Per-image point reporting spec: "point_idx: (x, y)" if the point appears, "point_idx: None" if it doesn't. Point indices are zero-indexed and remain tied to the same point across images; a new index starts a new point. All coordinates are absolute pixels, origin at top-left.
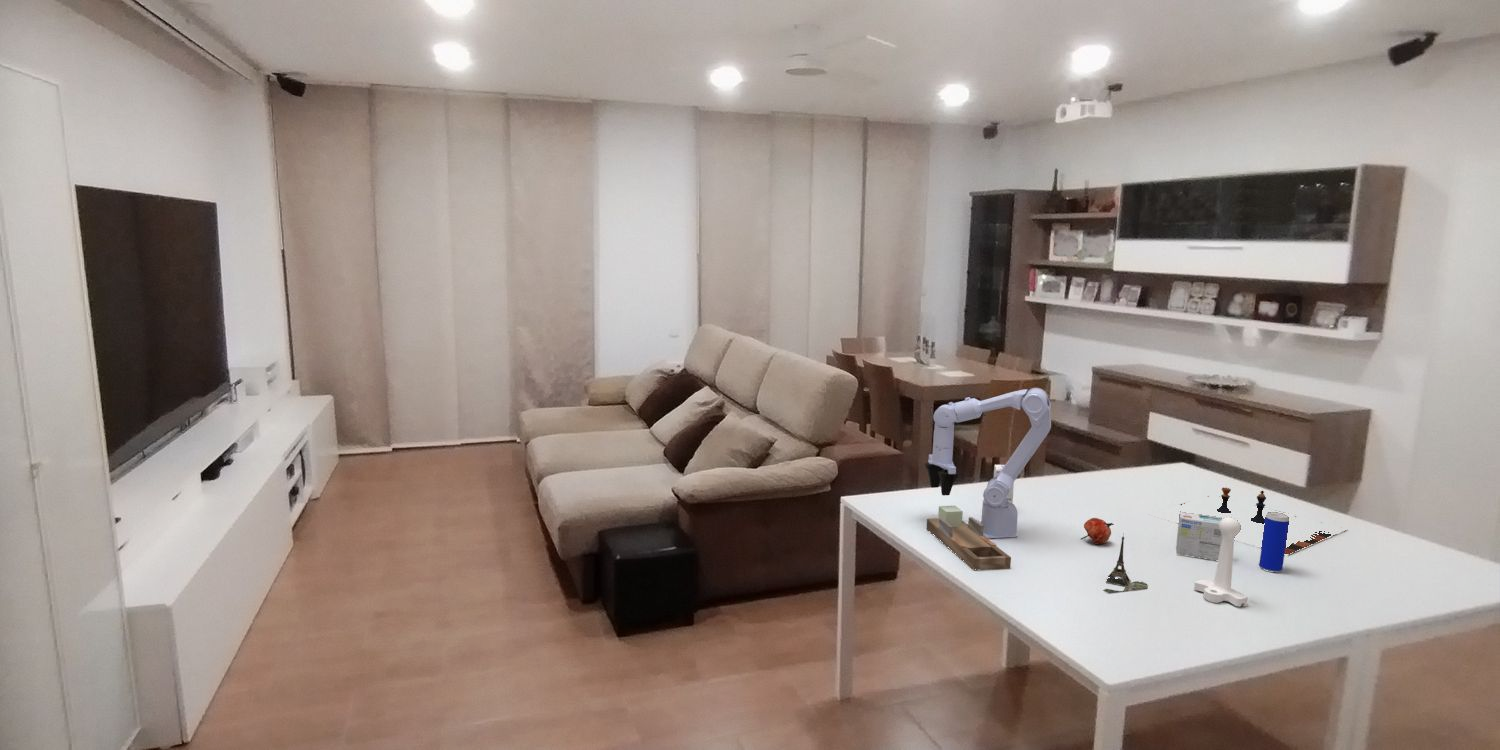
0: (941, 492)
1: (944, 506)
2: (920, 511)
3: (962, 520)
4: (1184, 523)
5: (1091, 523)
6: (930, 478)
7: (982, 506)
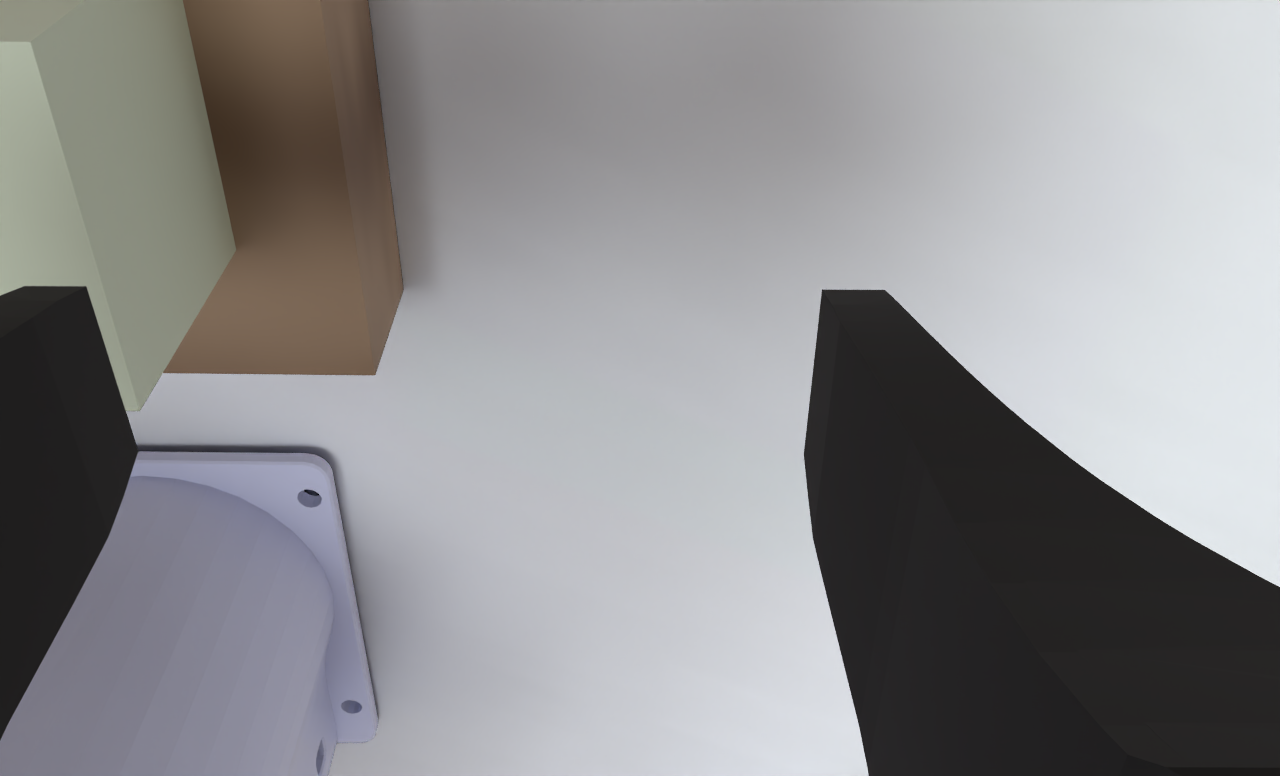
0: (43, 305)
1: (28, 168)
2: (1251, 24)
3: (245, 371)
4: None
5: None
6: (917, 417)
7: (73, 765)
